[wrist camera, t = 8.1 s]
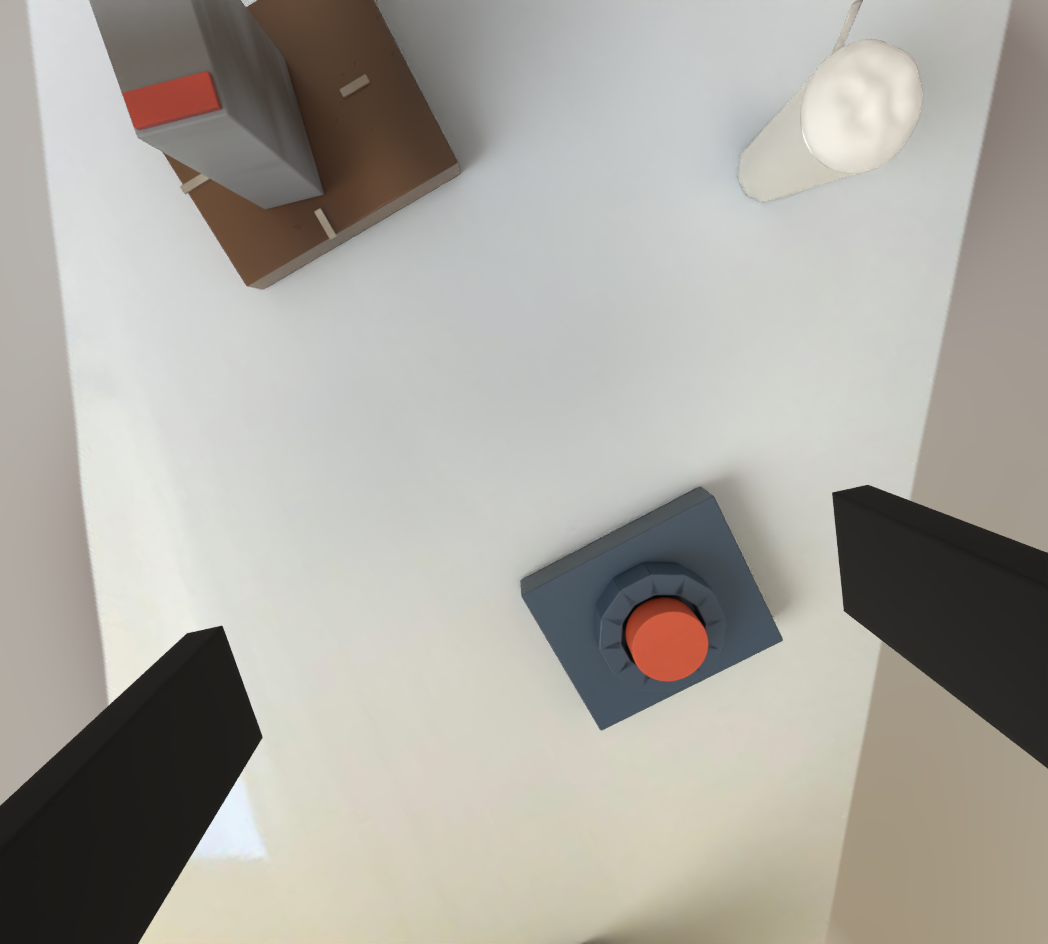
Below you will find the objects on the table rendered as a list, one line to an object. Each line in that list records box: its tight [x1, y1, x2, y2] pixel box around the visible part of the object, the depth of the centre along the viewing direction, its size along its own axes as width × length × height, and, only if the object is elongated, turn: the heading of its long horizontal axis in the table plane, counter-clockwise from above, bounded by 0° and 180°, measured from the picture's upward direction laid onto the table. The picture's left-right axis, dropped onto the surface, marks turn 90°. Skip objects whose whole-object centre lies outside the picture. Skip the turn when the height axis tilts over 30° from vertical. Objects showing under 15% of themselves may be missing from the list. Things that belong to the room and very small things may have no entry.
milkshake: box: [737, 0, 923, 202], centre depth 25 cm, size 4×5×10 cm
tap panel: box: [163, 0, 460, 289], centre depth 28 cm, size 12×10×2 cm
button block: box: [520, 487, 783, 730], centre depth 33 cm, size 12×10×4 cm
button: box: [626, 597, 708, 681], centre depth 31 cm, size 4×4×2 cm
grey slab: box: [89, 0, 324, 209], centre depth 22 cm, size 6×3×10 cm, turn 13°
